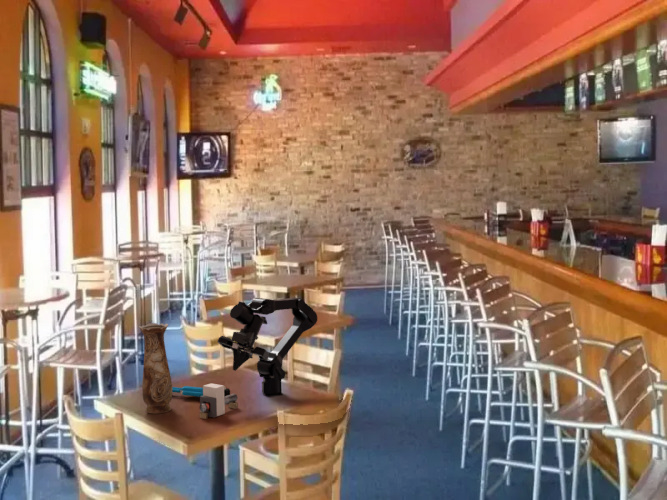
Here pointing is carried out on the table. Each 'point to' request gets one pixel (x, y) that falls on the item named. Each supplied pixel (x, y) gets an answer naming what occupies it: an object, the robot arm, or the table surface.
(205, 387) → the white block
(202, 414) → the metal cylinder
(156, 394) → the vase
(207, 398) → the gray square plate
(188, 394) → the toy
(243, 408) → the table surface
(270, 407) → the table surface
